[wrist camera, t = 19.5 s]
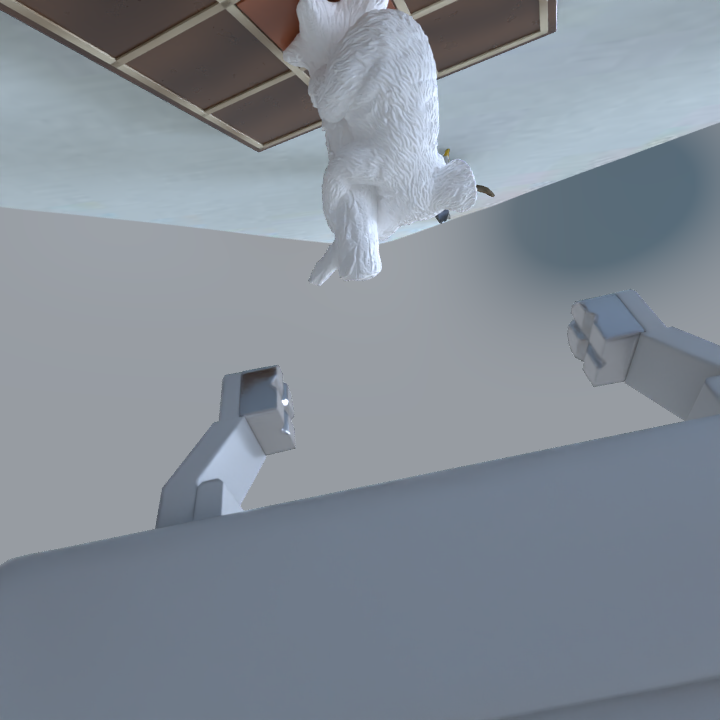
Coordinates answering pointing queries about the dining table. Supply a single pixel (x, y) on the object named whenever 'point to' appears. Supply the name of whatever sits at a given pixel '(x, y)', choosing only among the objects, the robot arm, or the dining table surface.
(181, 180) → the dining table surface
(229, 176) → the dining table surface
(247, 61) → the board
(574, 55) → the dining table surface
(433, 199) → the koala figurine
